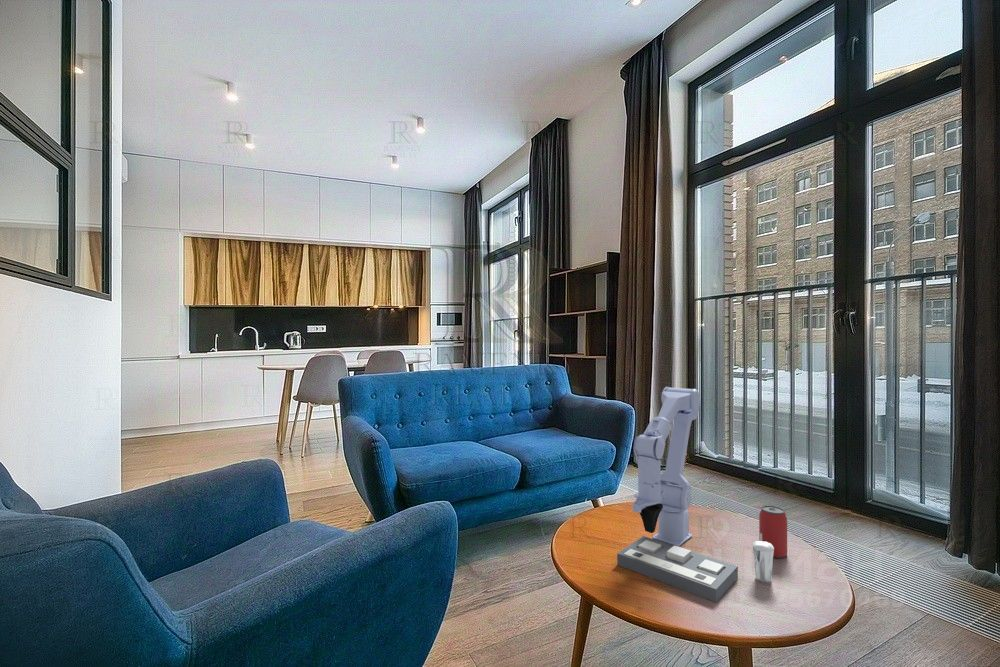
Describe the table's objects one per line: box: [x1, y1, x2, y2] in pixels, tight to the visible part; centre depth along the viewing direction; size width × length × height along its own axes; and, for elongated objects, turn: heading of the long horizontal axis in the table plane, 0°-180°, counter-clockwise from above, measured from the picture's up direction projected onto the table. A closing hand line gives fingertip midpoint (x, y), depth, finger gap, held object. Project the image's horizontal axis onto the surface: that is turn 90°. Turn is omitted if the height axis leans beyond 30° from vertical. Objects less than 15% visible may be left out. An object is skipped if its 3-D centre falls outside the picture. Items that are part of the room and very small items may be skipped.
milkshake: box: [752, 533, 774, 584], centre depth 118 cm, size 4×5×10 cm
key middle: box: [667, 545, 692, 564], centre depth 123 cm, size 4×4×3 cm
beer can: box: [758, 504, 788, 559], centre depth 131 cm, size 7×7×12 cm
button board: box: [616, 535, 739, 603], centre depth 122 cm, size 14×25×3 cm, turn 46°
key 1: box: [638, 540, 662, 554], centre depth 129 cm, size 4×4×3 cm
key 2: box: [698, 559, 724, 575], centre depth 118 cm, size 4×4×3 cm
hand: (649, 531), depth 129 cm, fingers closed
